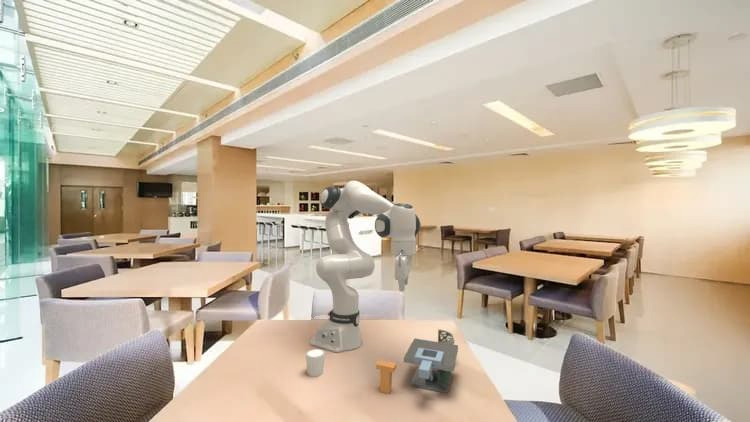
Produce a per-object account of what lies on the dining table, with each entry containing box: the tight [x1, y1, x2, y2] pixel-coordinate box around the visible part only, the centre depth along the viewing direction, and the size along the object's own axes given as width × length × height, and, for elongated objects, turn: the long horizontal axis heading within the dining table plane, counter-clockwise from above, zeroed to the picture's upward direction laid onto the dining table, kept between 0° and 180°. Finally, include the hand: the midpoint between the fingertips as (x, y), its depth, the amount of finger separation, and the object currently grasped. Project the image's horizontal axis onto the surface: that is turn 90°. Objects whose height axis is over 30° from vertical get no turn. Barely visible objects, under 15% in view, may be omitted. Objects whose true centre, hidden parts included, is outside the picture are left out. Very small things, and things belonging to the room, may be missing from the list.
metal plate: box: [403, 338, 459, 395], centre depth 106 cm, size 16×16×10 cm
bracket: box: [414, 348, 444, 379], centre depth 98 cm, size 8×13×3 cm, turn 160°
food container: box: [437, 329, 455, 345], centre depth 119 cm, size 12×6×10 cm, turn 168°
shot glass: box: [305, 348, 326, 377], centre depth 110 cm, size 7×7×7 cm
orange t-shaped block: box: [375, 359, 397, 394], centre depth 100 cm, size 6×3×8 cm, turn 70°
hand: (403, 287), depth 110 cm, fingers open, 8 cm apart
